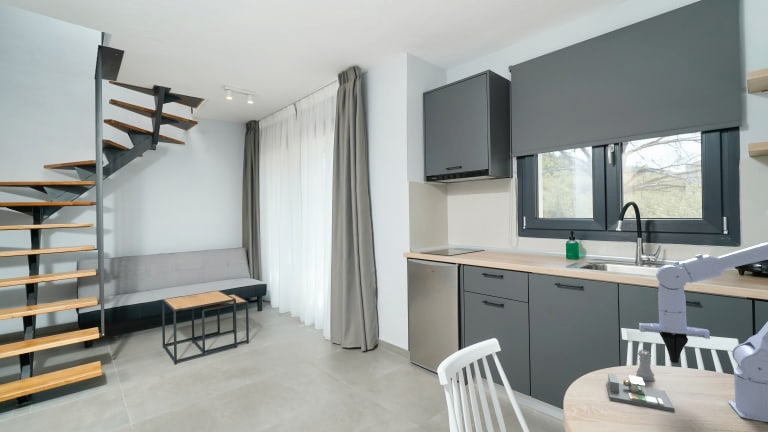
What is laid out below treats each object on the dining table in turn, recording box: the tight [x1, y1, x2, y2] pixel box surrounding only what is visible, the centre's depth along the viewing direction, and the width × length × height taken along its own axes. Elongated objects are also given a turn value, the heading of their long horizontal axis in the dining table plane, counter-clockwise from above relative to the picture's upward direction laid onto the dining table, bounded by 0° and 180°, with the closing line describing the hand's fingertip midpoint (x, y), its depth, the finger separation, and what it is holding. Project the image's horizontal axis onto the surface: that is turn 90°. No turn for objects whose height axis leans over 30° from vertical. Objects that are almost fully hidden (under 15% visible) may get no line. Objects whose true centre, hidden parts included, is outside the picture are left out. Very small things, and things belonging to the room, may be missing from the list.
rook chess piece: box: [635, 349, 655, 382], centre depth 105 cm, size 4×4×8 cm
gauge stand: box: [606, 372, 676, 413], centre depth 94 cm, size 14×10×3 cm
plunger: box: [622, 375, 646, 394], centre depth 95 cm, size 4×8×2 cm, turn 152°
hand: (674, 361), depth 94 cm, fingers closed
